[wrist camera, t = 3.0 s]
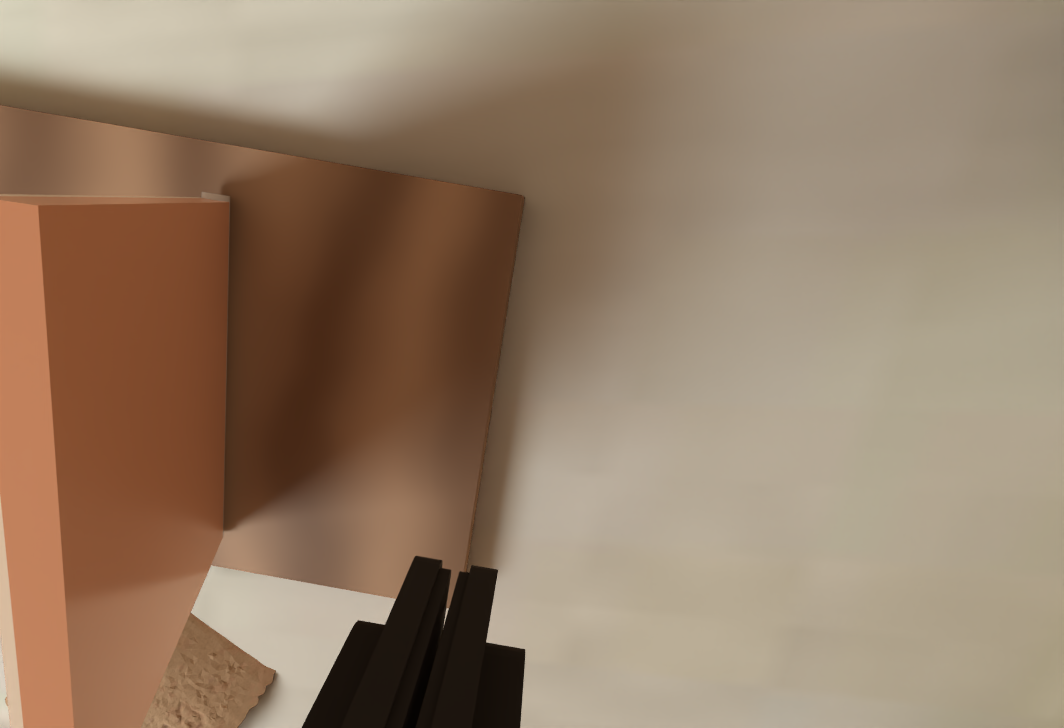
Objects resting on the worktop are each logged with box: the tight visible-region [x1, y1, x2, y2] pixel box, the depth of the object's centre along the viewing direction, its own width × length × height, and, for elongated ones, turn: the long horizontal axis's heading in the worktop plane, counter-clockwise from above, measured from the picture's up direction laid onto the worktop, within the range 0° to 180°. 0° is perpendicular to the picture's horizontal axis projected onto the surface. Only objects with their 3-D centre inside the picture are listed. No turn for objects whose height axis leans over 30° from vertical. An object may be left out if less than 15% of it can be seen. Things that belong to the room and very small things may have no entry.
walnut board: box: [0, 105, 525, 608], centre depth 22 cm, size 26×18×2 cm
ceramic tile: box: [0, 192, 230, 728], centre depth 15 cm, size 13×14×1 cm
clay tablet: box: [5, 613, 275, 728], centre depth 27 cm, size 14×10×3 cm
